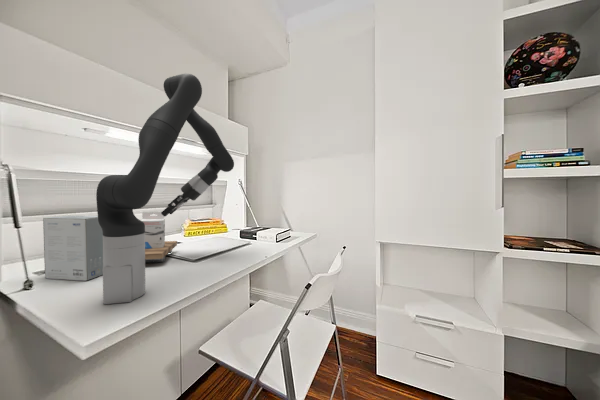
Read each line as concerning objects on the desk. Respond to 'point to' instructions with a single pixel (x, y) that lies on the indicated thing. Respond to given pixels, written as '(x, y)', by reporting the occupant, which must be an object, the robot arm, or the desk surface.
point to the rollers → (155, 259)
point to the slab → (160, 250)
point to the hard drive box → (73, 247)
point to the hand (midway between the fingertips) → (166, 213)
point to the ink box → (154, 230)
